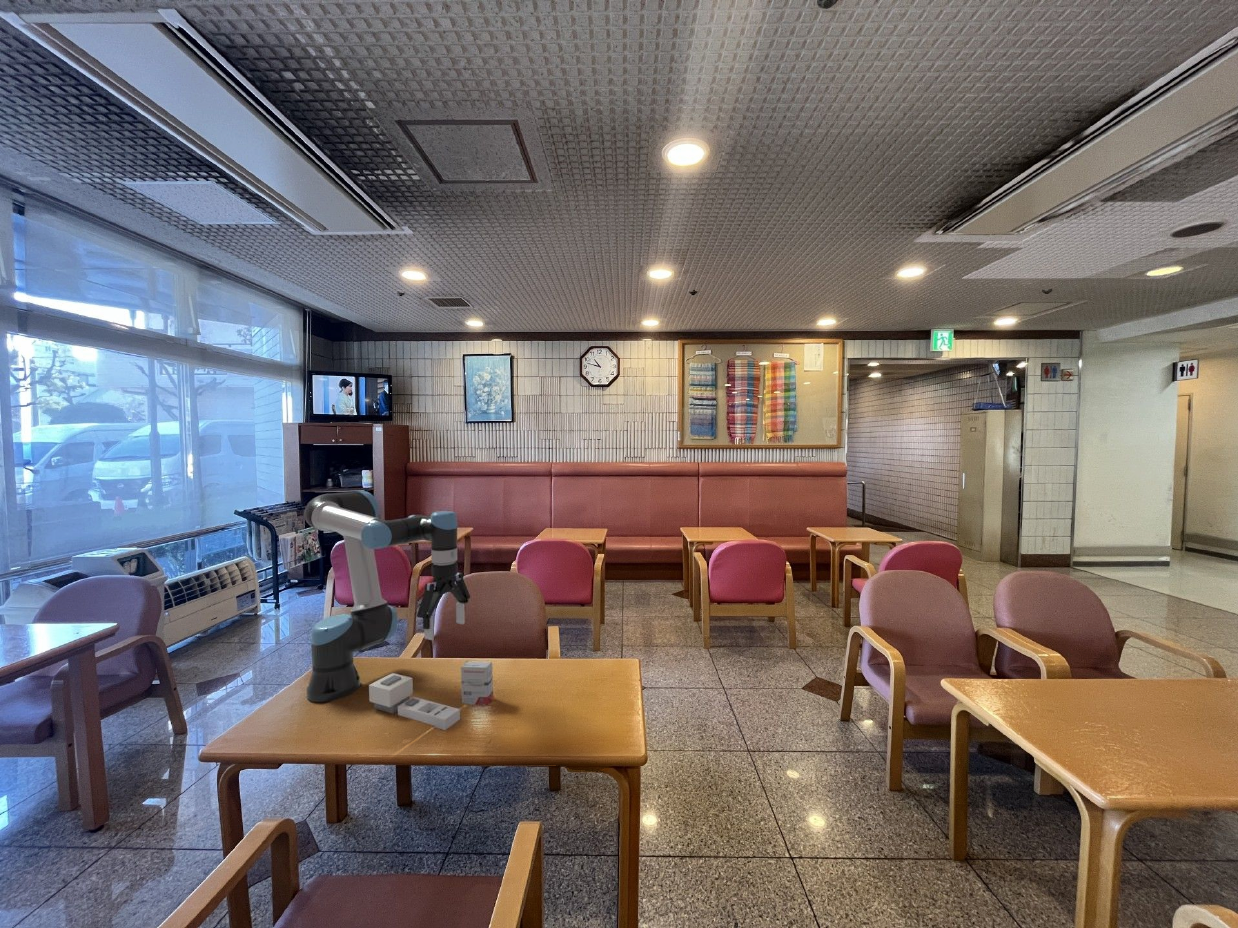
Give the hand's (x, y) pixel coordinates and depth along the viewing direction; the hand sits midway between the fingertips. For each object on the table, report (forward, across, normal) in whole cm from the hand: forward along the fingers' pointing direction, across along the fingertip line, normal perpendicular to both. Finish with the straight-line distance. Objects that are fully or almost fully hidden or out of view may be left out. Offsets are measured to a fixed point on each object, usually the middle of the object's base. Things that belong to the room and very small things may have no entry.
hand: (445, 630), depth 151 cm
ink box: (+23, +5, -8) cm, 25 cm away
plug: (+22, -8, +14) cm, 27 cm away
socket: (+23, -8, -1) cm, 24 cm away
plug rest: (+23, -8, +14) cm, 28 cm away
